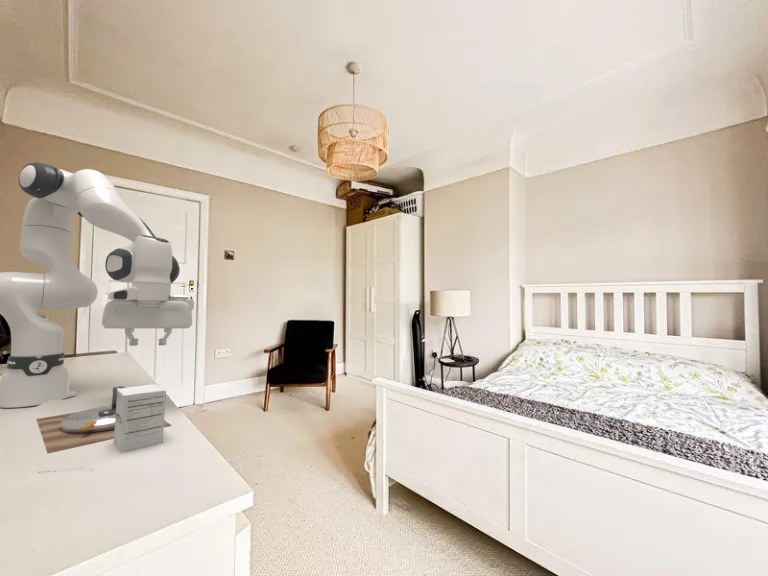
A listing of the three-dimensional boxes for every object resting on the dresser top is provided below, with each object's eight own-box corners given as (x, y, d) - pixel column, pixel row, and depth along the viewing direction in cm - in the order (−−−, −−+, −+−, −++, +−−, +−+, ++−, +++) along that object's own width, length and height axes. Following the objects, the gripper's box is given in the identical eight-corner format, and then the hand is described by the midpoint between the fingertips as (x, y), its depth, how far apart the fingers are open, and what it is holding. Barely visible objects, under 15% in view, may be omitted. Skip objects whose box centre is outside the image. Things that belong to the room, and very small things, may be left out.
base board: (35, 425, 82) (36, 418, 82) (138, 407, 98) (139, 401, 98) (47, 461, 64) (47, 452, 64) (171, 431, 80) (171, 424, 80)
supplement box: (112, 449, 69) (116, 388, 70) (154, 440, 75) (157, 383, 76) (118, 461, 64) (123, 395, 65) (163, 450, 70) (167, 389, 71)
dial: (128, 432, 74) (130, 403, 74) (35, 440, 69) (38, 408, 69) (154, 408, 91) (156, 384, 92) (82, 413, 86) (84, 387, 87)
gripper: (196, 296, 98) (193, 343, 97) (111, 293, 91) (108, 344, 90) (191, 295, 92) (189, 346, 91) (101, 292, 85) (97, 347, 84)
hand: (148, 345), depth 90 cm, fingers open, 5 cm apart
